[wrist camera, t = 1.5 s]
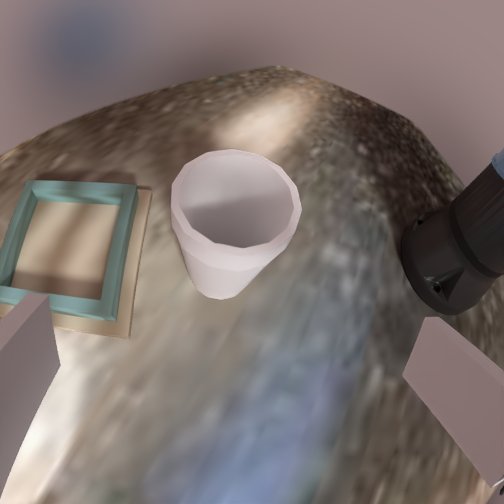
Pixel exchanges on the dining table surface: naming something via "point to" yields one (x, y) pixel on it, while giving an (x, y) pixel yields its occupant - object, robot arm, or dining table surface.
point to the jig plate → (76, 253)
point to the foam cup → (232, 218)
